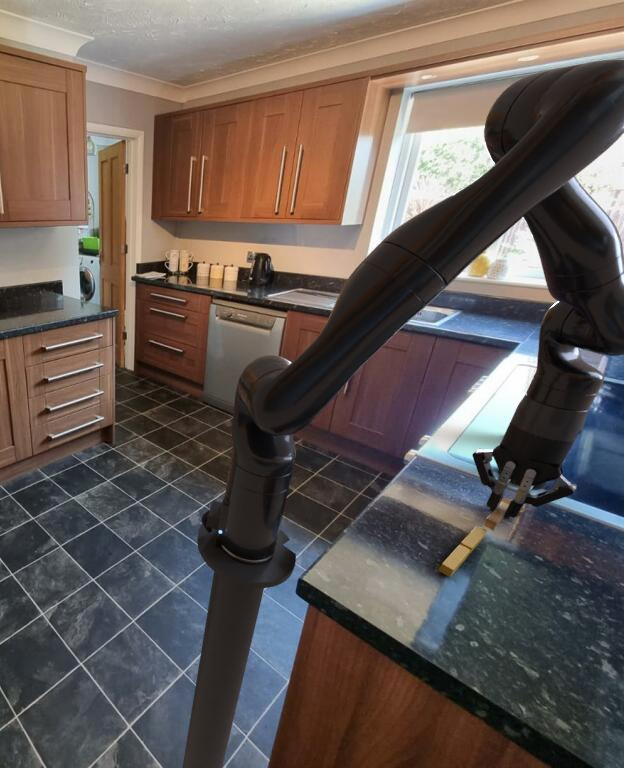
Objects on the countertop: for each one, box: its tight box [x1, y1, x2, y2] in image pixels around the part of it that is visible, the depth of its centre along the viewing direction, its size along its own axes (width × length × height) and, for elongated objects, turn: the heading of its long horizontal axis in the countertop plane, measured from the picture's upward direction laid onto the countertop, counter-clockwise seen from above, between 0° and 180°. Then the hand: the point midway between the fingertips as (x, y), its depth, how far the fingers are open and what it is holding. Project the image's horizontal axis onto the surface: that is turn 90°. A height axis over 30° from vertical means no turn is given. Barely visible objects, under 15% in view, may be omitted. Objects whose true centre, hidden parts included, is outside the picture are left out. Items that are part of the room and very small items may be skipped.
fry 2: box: [460, 525, 488, 556], centre depth 69 cm, size 7×2×2 cm, turn 125°
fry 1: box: [438, 543, 471, 578], centre depth 65 cm, size 7×2×2 cm, turn 125°
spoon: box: [483, 496, 525, 531], centre depth 74 cm, size 12×4×2 cm, turn 125°
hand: (500, 513), depth 73 cm, fingers closed on spoon, 1 cm apart
